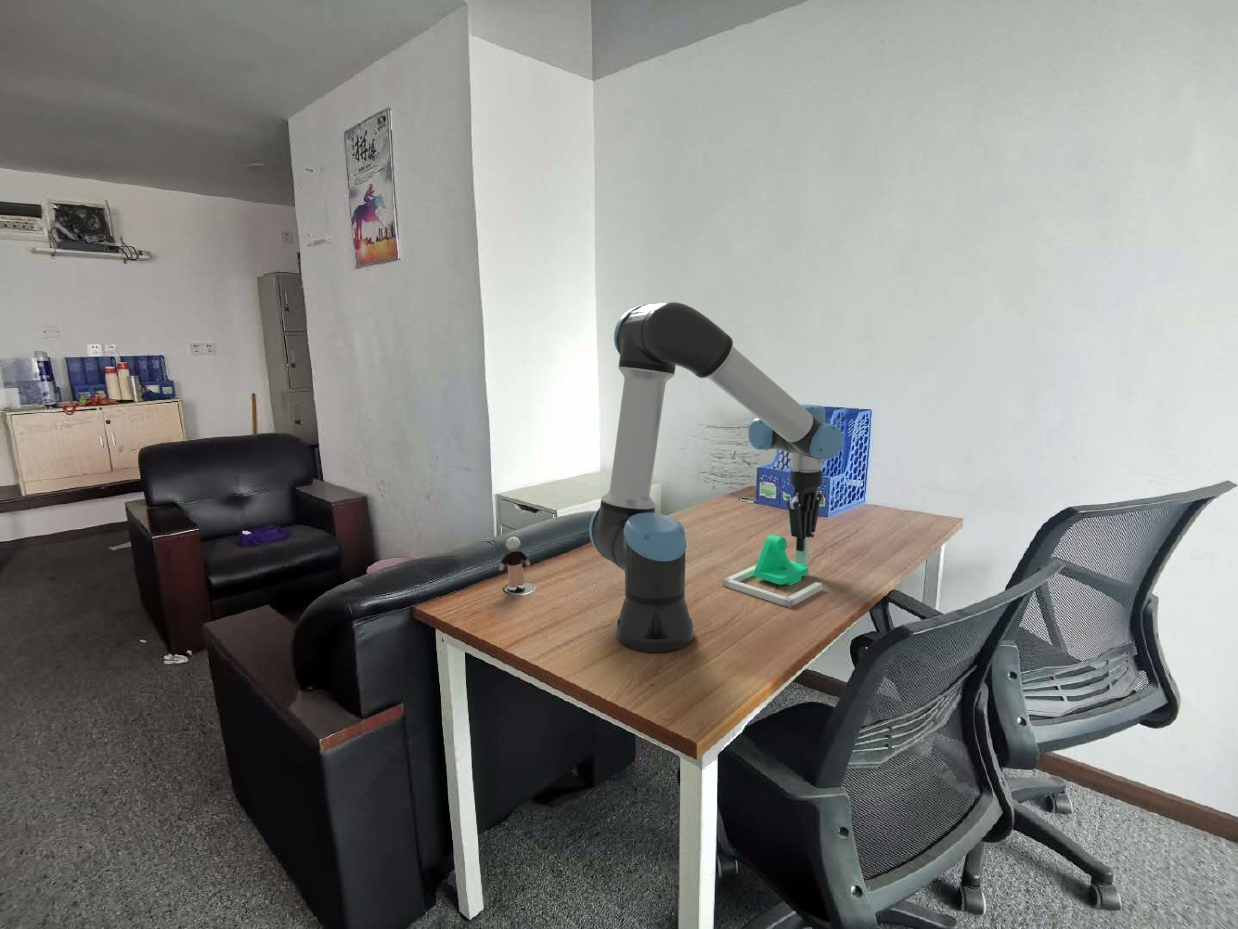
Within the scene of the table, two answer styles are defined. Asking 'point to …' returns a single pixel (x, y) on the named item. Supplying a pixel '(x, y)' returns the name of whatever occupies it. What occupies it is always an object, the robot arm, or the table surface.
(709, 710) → the table surface
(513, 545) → the grandmother figurine
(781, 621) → the table surface
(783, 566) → the camera mount
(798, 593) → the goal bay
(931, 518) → the table surface
